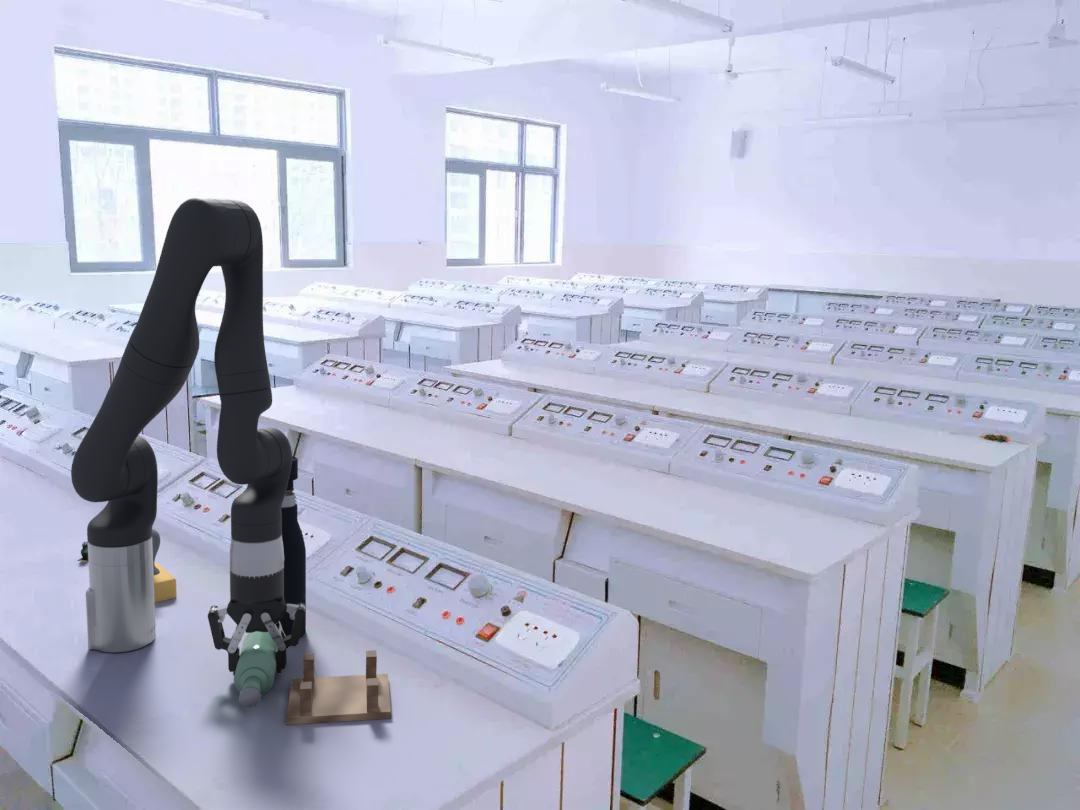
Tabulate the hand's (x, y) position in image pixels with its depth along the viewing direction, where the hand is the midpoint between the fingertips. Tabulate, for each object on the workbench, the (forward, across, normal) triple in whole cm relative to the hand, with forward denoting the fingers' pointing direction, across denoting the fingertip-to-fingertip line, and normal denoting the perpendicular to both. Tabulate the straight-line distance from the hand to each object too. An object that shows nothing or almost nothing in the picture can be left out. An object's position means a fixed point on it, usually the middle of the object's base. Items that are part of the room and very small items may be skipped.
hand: (258, 671), depth 133 cm
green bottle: (+1, 0, -3) cm, 3 cm away
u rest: (+1, +12, -8) cm, 14 cm away
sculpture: (+2, -37, +53) cm, 64 cm away
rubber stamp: (+1, -22, +35) cm, 41 cm away
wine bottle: (+1, +3, +15) cm, 15 cm away
